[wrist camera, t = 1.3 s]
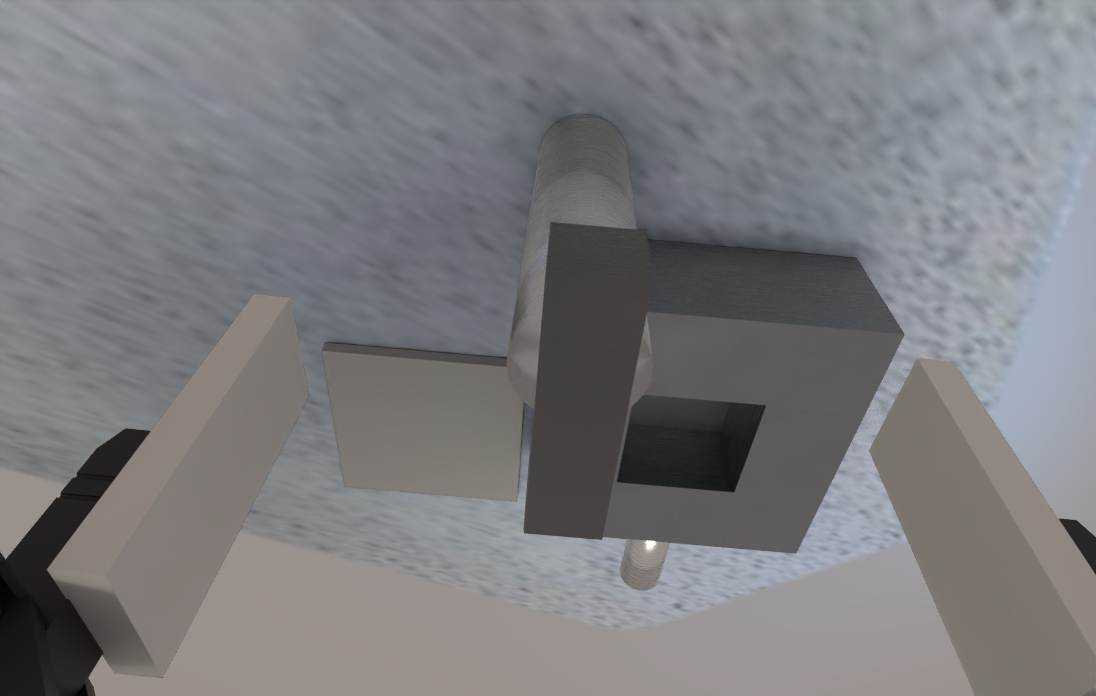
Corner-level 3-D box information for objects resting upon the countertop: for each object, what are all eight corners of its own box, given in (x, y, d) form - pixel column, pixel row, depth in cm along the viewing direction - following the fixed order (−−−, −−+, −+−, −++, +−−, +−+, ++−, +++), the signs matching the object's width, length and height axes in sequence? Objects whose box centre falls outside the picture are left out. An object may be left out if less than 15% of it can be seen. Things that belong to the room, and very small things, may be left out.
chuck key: (614, 247, 26) (632, 542, 15) (532, 240, 26) (493, 530, 15) (642, 60, 22) (695, 284, 11) (545, 51, 22) (504, 267, 11)
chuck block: (525, 511, 36) (518, 594, 32) (549, 230, 26) (541, 302, 22) (746, 530, 37) (765, 615, 33) (856, 257, 26) (904, 334, 22)
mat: (347, 478, 35) (344, 486, 35) (326, 342, 30) (321, 350, 30) (517, 492, 36) (516, 501, 35) (527, 360, 30) (526, 368, 30)
